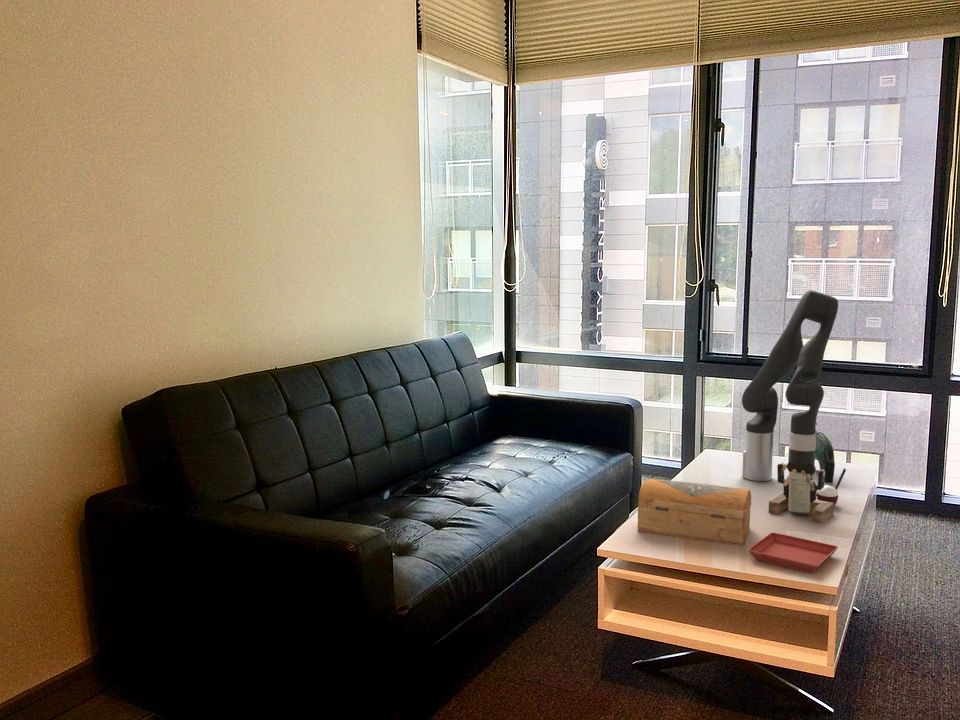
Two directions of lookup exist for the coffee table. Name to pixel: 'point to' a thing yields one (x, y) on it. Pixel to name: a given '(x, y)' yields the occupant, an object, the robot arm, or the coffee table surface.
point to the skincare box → (799, 492)
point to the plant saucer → (792, 552)
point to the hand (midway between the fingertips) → (799, 499)
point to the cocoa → (830, 491)
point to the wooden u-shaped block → (817, 508)
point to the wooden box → (694, 511)
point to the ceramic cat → (825, 455)
